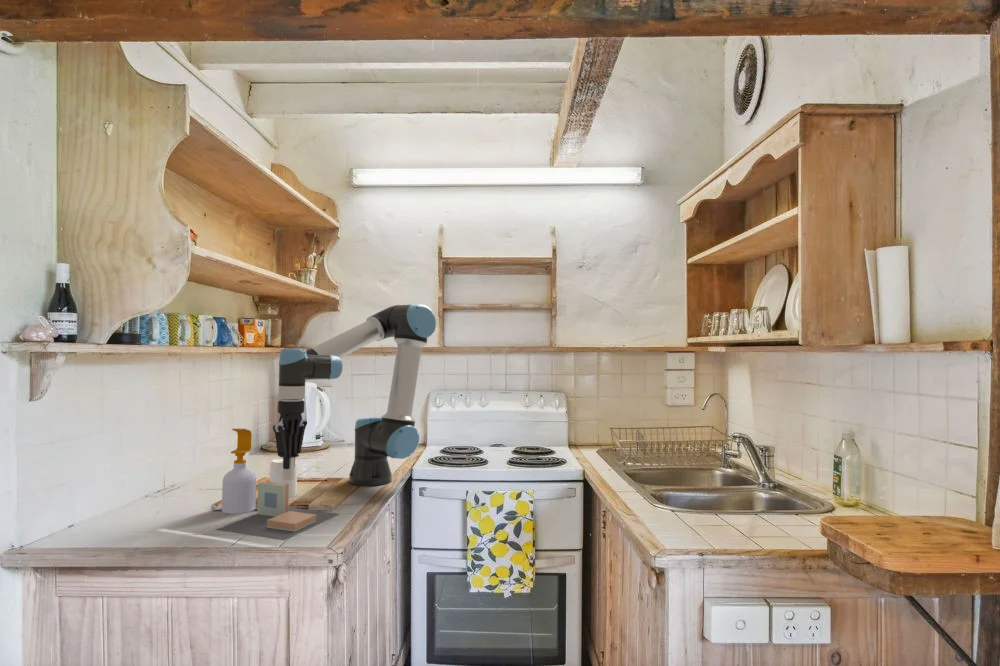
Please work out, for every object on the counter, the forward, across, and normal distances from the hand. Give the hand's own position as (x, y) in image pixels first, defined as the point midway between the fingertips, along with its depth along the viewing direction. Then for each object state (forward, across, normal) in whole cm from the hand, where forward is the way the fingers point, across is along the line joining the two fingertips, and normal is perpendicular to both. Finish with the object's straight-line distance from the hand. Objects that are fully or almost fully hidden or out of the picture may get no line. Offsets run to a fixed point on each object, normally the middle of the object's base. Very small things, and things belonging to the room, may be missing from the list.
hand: (288, 479), depth 174 cm
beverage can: (+10, -11, -11) cm, 18 cm away
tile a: (+8, +8, +11) cm, 16 cm away
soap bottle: (+10, +6, -13) cm, 17 cm away
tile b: (+9, +7, 0) cm, 11 cm away
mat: (+9, +11, +6) cm, 15 cm away
